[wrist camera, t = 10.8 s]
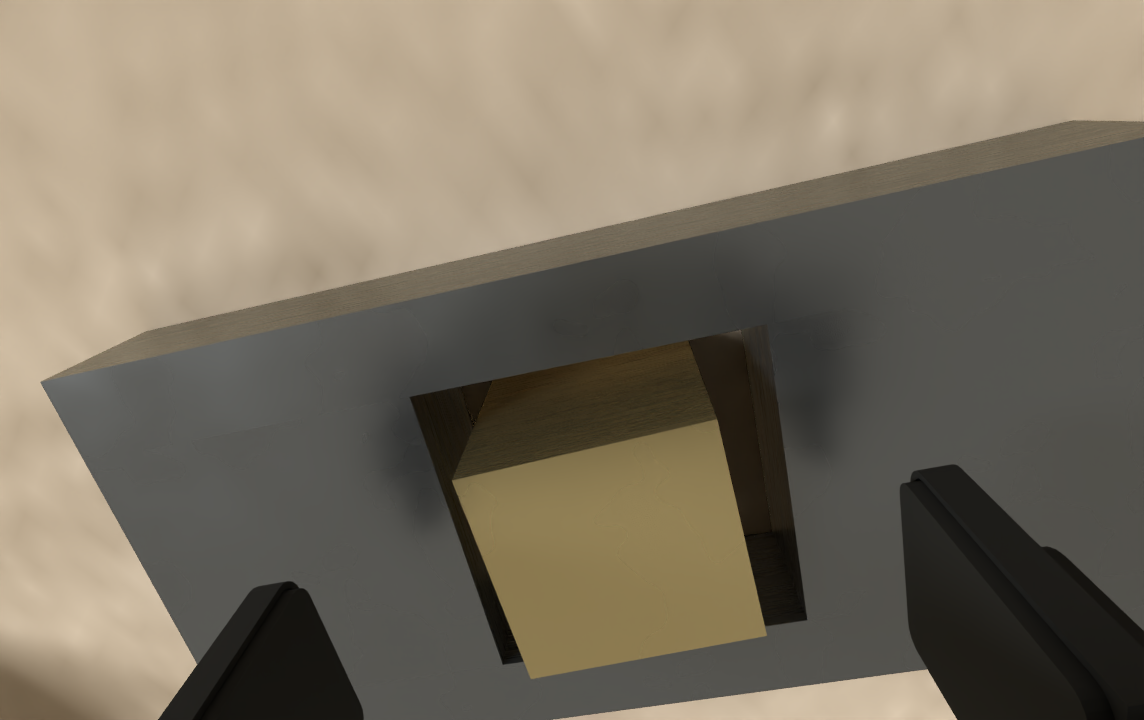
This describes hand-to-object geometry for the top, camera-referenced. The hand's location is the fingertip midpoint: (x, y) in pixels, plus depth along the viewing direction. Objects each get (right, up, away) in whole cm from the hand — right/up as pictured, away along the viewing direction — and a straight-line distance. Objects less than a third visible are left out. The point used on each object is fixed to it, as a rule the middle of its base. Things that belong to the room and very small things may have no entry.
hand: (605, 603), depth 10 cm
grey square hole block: (+1, +2, +5) cm, 6 cm away
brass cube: (0, +2, +5) cm, 6 cm away
